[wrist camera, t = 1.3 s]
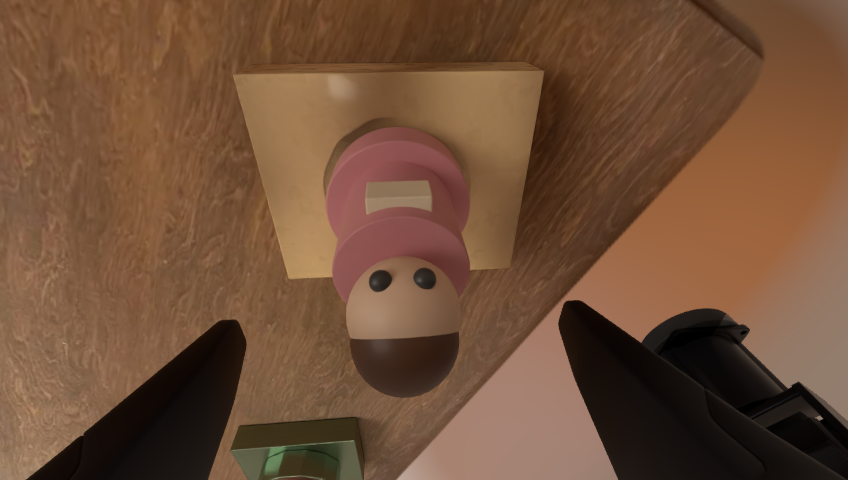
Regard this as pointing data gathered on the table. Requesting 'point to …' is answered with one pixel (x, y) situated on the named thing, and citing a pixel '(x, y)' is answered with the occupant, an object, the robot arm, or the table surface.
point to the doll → (400, 256)
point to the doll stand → (382, 108)
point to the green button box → (300, 450)
